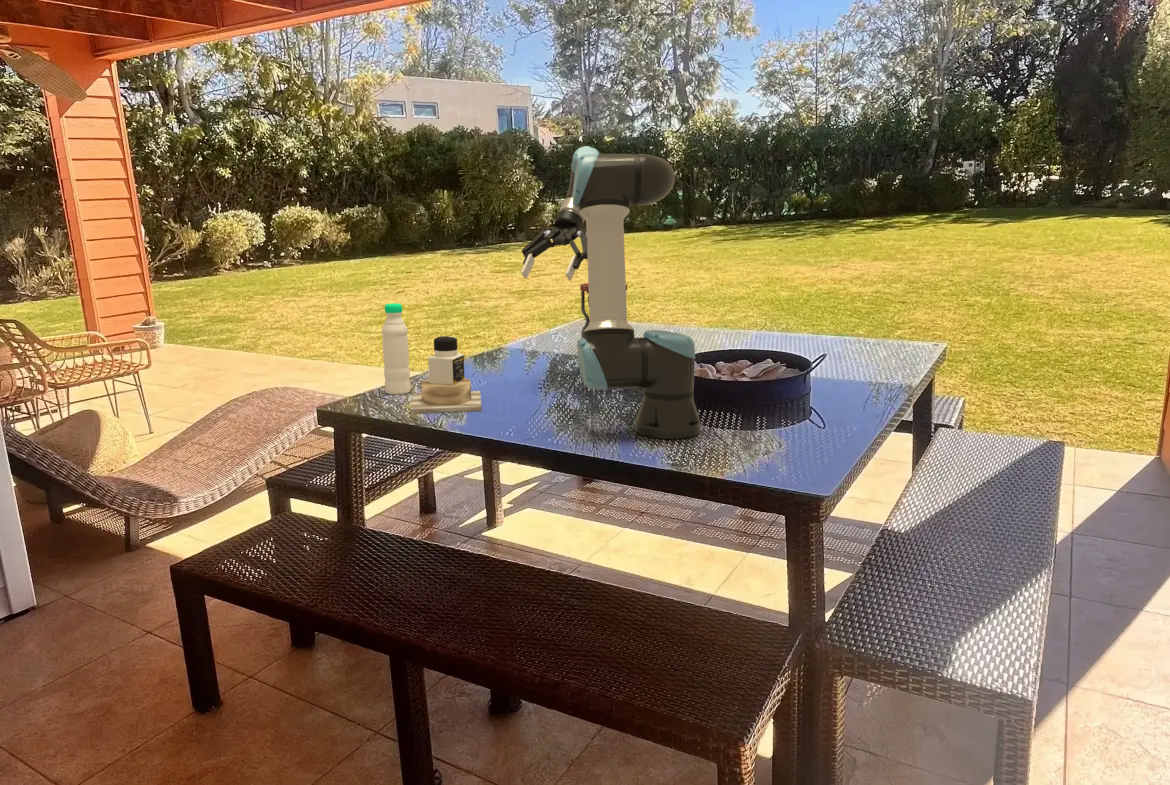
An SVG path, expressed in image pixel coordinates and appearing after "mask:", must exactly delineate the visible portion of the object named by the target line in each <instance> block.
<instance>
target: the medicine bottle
mask: <svg viewBox="0 0 1170 785" xmlns="http://www.w3.org/2000/svg"><path fill="white" fill-rule="evenodd" d="M433 352H434V355H430V356H428V358H427V361H428V362H427V363H428V364H427V365H428V379H429V383H430V384H443V385H455V384H457V383H459V382H461V381H463V380H464V379H465V378H466V377H465V358H464V356H465V354H464V353H458V339H457V337H454V336H451V335H446V336H445V335H444V336H438V337H435V338H434V339H433Z"/></svg>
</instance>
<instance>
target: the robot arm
mask: <svg viewBox="0 0 1170 785" xmlns="http://www.w3.org/2000/svg"><path fill="white" fill-rule="evenodd" d="M675 178H676V176H675V171H674V169H673V167H672V166H671V163H669V161H667V160H666V159H663V158H662V157H659V156H655V155H651V154H645V153H635V154H633V153H600V152H599V151H598V149H596V148H594V147H591V146H589V145H585V146H581V147H579V148H577V149H576V150H575V151H574V153H573V157H572V162H571V170H570V179H569V185H568V186H569V187H568V190H567V193H566V196H565V198H564V200H563V203H561V206H560V209H559V210H558V211H559V212H558V213H557V216H556V218H555V220H554V225H553V228H551V229H550V230H547V228H546V227H543V228H541V230H540V231H539V233H538V234H536V235H535V237H533V238H532V240H530V242H528V244H527V245H525V246H524V248H522V249H521V254H522V255H523V256H524V260H523V262H522V265H523V266H522V269H521V271H520V273H521V275H522V277H523V278H524V279H525V280H527V279H528V278H529V275H530V273H531V271H532V268H533V266H534V264H535V262H536V260H535V258H536V257H538V256H539V255H541V254H542V253H544V252H546V250H547V251H548V250H549V249H550V248H554V247H555V246H566V247H567V245H569V246H570V247H571V249H572V250H573V252H574V254H573V255H572V257H571V259H570V262H569V263H568V266H567V269H566V271H565V276H566V278H567V280H568V281H572V279H573V277H574V274H575V272H576V270H579V268H580V266H581V263H582V262H583V261H584V260H587V277H588V279H587V281H588V282H587V283H588V285H589V294H588V296H589V304H588V311H589V319H590V323H589V325H588V327H587V328H586V329H585V330H584V338H581V337H580V338H579V339H578V340H577V344H576V345H577V346H576V349H577V358H578V366H579V371H580V374H581V379H582V382H583V384H584V385H585V387H587V388H588V389H591V390H604V391H607V390H618V389H619V390H622V389H625V390H626V389H643V392H642V393H643V394H642V395H643V398H642V401H641V404H640V407H639V409H638V413H637V416H636V419H635V432H636V433H638V434H639V435H642V436H644V437H649V438H654V439H660V440H661V439H662V440H678V439H679V440H680V439H687V438H692V437H695V436H697V435H699V434H700V432H701V421H700V416H699V414H698V409H697V407H696V403H695V400H694V392H695V391H694V390H695V388H694V387H695V364H696V362H695V361H696V350H695V341H694V340H693V338H692V337H691V336H689V335H687V334H682V333H680V332H679V333H678V332H672V331H667V330H661V329H658V330H657V329H647V330H645V331H644V333H643V336H642V337H635V330H634V329H635V328H634V327H633V326H631V324H629V323H628V310H627V309H628V308H627V290H626V285H627V284H626V278H627V277H626V261H625V259H626V257H625V229H624V226H625V225H624V220H625V218H626V217H627V216H628V215H629V214H630V210H631V209H630V207H634V206H640V207H641V206H647V205H651V204H654V203H657V202H659V201H661V200H663V199H664V198H666V196H668V194H670V192H671V191H672V190H673V187H674V184H675V180H676V179H675ZM585 221H586V222H585ZM584 222H585V224H586V226H585V227H586V228H585V227H583V224H584ZM578 237H579V239H580V243H581V248H582V252H581V251H580V249H579V248H578V246H577V244H576V242H575V240H576V239H578Z"/></svg>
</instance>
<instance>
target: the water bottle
mask: <svg viewBox="0 0 1170 785" xmlns="http://www.w3.org/2000/svg"><path fill="white" fill-rule="evenodd" d="M384 313H385V316H386V319H385V320H384V324H383V325H382V328H381V335H382V358H383V365H384V368H383V373H384V374H383V377H384V392H385V393H386V394H388V395H392V396H393V395H395V396H396V395H405V394H409V393H410V391H411V389H412V388H411V380H410V378H411V377H410V375H411V373H410V367H409V365H410V362H409V360H410V354H409V352H410V351H409V340H408V332H409V330H408V327H407V325H406V323H405V321H404V319H403V317H402V314H403V305H402V303H397V302H396V303H395V302H394V303H387V304H384Z"/></svg>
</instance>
